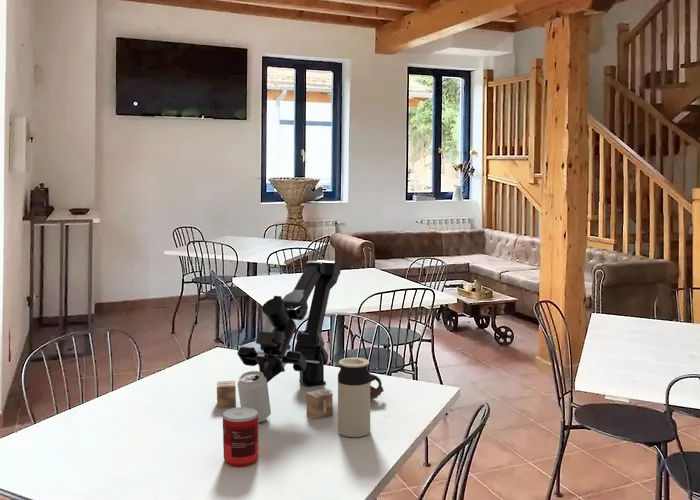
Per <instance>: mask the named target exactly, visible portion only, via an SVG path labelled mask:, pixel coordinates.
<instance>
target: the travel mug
mask: <svg viewBox="0 0 700 500" xmlns="http://www.w3.org/2000/svg"><path fill="white" fill-rule="evenodd" d="M338 364H339V367H340V369H339V372H338V374H337V430H338V431H337V432H338V434H340V435H342V436H343V437H346V438H362V437H366V436H367V435H369V434H370V433H371V400H370V385H371V384H370V374H371V373H370V371H369V364H370V361H369V360H368V359H366V358H363V357H345V358H342V359H340V360H339V361H338Z"/></svg>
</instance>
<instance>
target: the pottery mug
mask: <svg viewBox="0 0 700 500" xmlns="http://www.w3.org/2000/svg"><path fill="white" fill-rule="evenodd" d="M373 381H376V382H377V383H378V384H377V385H378V386H377V387H373V386H372V382H373ZM382 384H383V383H382V380H381V378H380V377H379V376H378V375H376V374H372V373H370V401H371V400H374V399H377V398H378V397H379V396H381V395H382V393H384V387H383V386H382Z"/></svg>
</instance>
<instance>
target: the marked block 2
mask: <svg viewBox="0 0 700 500" xmlns="http://www.w3.org/2000/svg"><path fill="white" fill-rule="evenodd" d="M305 399H306V415H307V416H309V417H311V418H312V419H315V420H316V421H317V420H323V419H326V418H330V417H333V416H334V414H333V413H334V411H333V410H334V409H333V405H334V403H333V400H334V399H333V393H331V392H330V391H327V390H325V389H323V388H321V389H317V390H312V391H307V392H306V398H305Z"/></svg>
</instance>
